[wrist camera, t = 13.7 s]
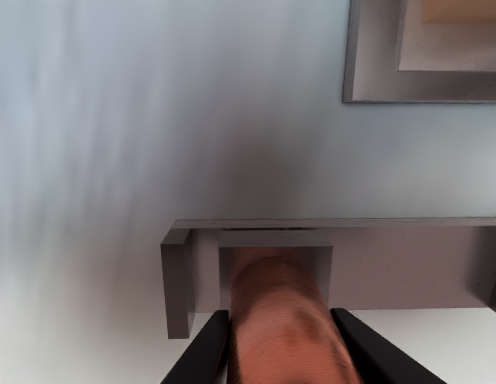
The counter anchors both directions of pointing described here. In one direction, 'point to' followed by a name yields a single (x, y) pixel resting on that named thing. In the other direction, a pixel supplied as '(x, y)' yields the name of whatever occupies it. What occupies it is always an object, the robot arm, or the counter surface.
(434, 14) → the block
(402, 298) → the rail
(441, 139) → the counter surface
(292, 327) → the handle
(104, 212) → the counter surface
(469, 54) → the plate
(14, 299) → the counter surface
